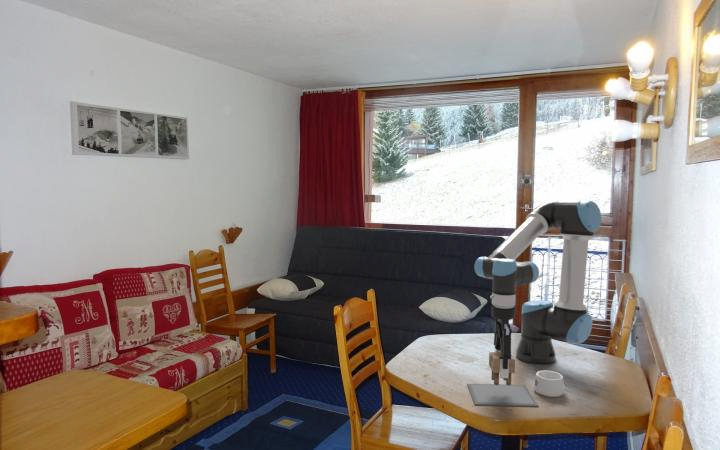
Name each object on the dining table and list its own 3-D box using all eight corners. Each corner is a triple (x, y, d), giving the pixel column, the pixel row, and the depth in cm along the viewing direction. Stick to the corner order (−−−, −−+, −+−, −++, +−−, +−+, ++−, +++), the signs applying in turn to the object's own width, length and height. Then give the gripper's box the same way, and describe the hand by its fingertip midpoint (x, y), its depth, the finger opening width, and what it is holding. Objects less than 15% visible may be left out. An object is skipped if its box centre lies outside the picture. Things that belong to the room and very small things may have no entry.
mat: (524, 386, 174) (524, 384, 174) (538, 406, 158) (538, 405, 158) (467, 384, 176) (467, 383, 176) (475, 405, 160) (475, 403, 160)
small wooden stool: (488, 377, 170) (489, 351, 169) (509, 378, 170) (510, 352, 169) (492, 385, 163) (493, 358, 162) (514, 386, 163) (515, 359, 162)
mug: (568, 398, 165) (568, 381, 164) (538, 397, 165) (538, 380, 165) (557, 384, 177) (557, 367, 176) (529, 383, 177) (529, 366, 177)
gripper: (486, 298, 174) (484, 362, 176) (498, 313, 155) (496, 384, 157) (507, 298, 174) (505, 362, 176) (523, 313, 154) (520, 385, 156)
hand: (501, 373), depth 166 cm, fingers closed on small wooden stool, 7 cm apart
